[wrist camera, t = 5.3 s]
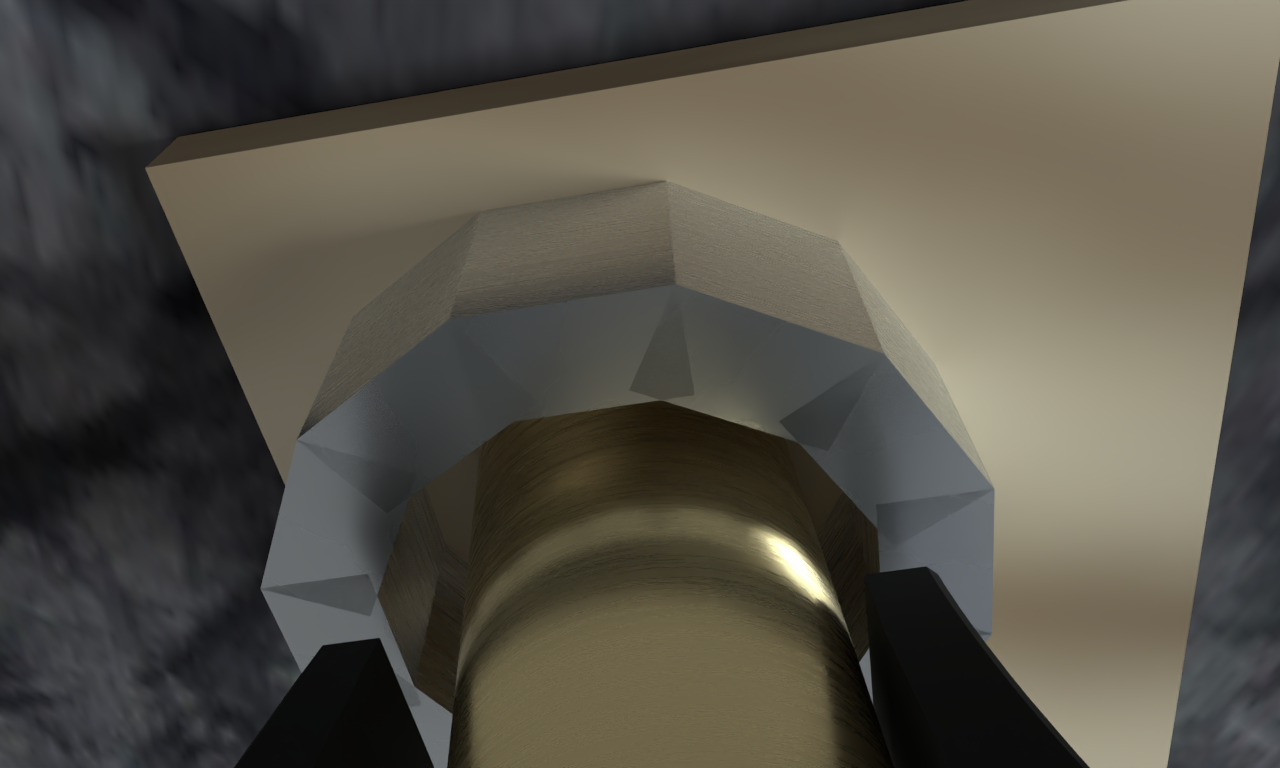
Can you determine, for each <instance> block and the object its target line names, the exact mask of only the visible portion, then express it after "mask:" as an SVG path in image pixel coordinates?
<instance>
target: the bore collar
mask: <svg viewBox="0 0 1280 768" xmlns="http://www.w3.org/2000/svg"><path fill="white" fill-rule="evenodd" d="M659 400H662V401H666V402H669V403H672V404H675V405H679V406H682V407H685V408H688V409H692V410H695V411H698V412H701V413H705V414H708V415H711V416H714V417H718V418H721V419H724V420H727V421H731V422H734V423H737V424H740V425H744V426H747V427H750V428H753V429H757V430H760V431H763V432H766V433H770V434H773V435H776V436H779V437H783V438H786V439H789V440H792V441H796V442H798V443H799V444H800V445H801V446H802V447H803V448H804V449H805V450H806V451H807V452H808V454H809V455H810V456H811V457H812V458H813V459H814V460H815V461H816V462H817V463H818V464H819V466H820V467H821V468H822V469H823V470H824V471H825V472H826V473H827V474H828V475H829V476H830V478H831V479H832V480H833V481H834V482H835V483H836V484H837V485H838V486H839V487H840V488H841V490H842V493H841V494H840V496H839V498H838V499H837V501H836V503H835V504H834V506H833V508H832V509H831V511H830V513H829V514H828V516H827V518H826V519H825V521H824V523H823V524H822V526H821V528H820V529H819V531H818V533H817V537H818V540H819V543H820V546H821V549H822V552H823V555H824V558H825V561H826V564H827V567H828V570H829V573H830V576H831V579H832V582H833V585H834V588H835V591H836V594H837V597H838V600H839V603H840V606H841V609H842V612H843V615H844V619H845V622H846V625H847V628H848V631H849V634H850V637H851V640H852V643H853V646H854V649H855V652H856V655H857V658H858V661H859V664H860V667H861V670H862V673H863V676H864V679H865V682H866V685H867V688H868V691H869V694H870V697H871V700H872V703H873V696H872V682H871V667H870V653H869V639H868V625H867V611H866V597H865V582H864V574H872V573H879V572H887V571H895V570H902V569H910V568H917V567H925V566H927V567H928V568H930V569H931V570H933V571H934V572H936V573H937V574H938V575H939V577H940V578H941V580H942V581H943V583H944V585H945V586H946V588H947V589H948V591H949V592H950V594H951V595H952V597H953V598H954V600H955V601H956V603H957V604H958V606H959V607H960V608H961V610H962V611H963V613H964V614H965V615H966V617H967V618H968V620H969V621H970V623H971V624H972V625H973V627H974V628H975V629H976V631H977V632H978V633H979V635H980V636H981V637H982V639H983V640H984V641H985V642H986V641H987V640H988V639H989V637H990V636H991V635H992V607H993V552H994V498H995V488H994V486H993V484H992V482H991V480H990V478H989V476H988V474H987V472H986V470H985V467H984V465H983V463H982V461H981V459H980V457H979V455H978V453H977V451H976V449H975V447H974V445H973V442H972V440H971V438H970V436H969V434H968V432H967V430H966V428H965V426H964V424H963V422H962V419H961V417H960V415H959V413H958V411H957V409H956V407H955V405H954V403H953V401H952V399H951V397H950V394H949V392H948V390H947V388H946V386H945V384H944V382H943V380H942V378H941V376H940V374H939V371H938V369H937V367H936V365H935V363H934V361H933V360H932V359H931V358H930V356H929V355H928V354H927V353H926V351H925V350H924V349H923V348H922V346H921V345H920V344H919V343H918V341H917V340H916V339H915V337H914V336H913V335H912V334H911V332H910V331H909V330H908V329H907V327H906V326H905V325H904V324H903V322H902V321H901V320H900V318H899V317H898V316H897V315H896V313H895V312H894V311H893V310H892V308H891V307H890V306H889V305H888V303H887V302H886V301H885V299H884V298H883V297H882V296H881V294H880V293H879V292H878V291H877V289H876V288H875V287H874V286H873V284H872V283H871V282H870V280H869V279H868V278H867V277H866V275H865V274H864V273H863V272H862V270H861V269H860V268H859V267H858V265H857V264H856V263H855V262H854V260H853V259H852V258H851V256H850V255H849V254H848V253H847V251H846V250H845V249H844V248H843V246H842V245H841V244H840V243H839V241H837V240H834V239H831V238H829V237H826V236H823V235H820V234H817V233H814V232H811V231H809V230H806V229H803V228H800V227H797V226H794V225H792V224H789V223H786V222H783V221H780V220H777V219H775V218H772V217H769V216H766V215H763V214H760V213H758V212H755V211H752V210H749V209H746V208H743V207H740V206H738V205H735V204H732V203H729V202H726V201H723V200H721V199H718V198H715V197H712V196H709V195H706V194H704V193H701V192H698V191H695V190H692V189H689V188H687V187H684V186H681V185H678V184H675V183H672V182H669V181H667V180H666V181H661V182H655V183H648V184H642V185H636V186H630V187H624V188H618V189H612V190H605V191H599V192H593V193H587V194H581V195H575V196H568V197H562V198H556V199H550V200H544V201H538V202H532V203H525V204H519V205H513V206H507V207H501V208H495V209H489V210H482V211H480V212H479V213H478V214H476V215H475V216H474V217H473V218H472V219H470V220H469V221H468V222H467V223H465V224H464V225H463V226H462V227H461V228H459V229H458V230H457V231H456V232H455V233H453V234H452V235H451V236H450V237H449V238H447V239H446V240H445V241H444V242H443V243H441V244H440V245H439V246H438V247H437V248H435V249H434V250H433V251H432V252H430V253H429V254H428V255H427V256H426V257H424V258H423V259H422V260H421V261H420V262H418V263H417V264H416V265H415V266H414V267H412V268H411V269H410V270H409V271H408V272H406V273H405V274H404V275H403V276H401V277H400V278H399V279H398V280H397V281H395V282H394V283H393V284H392V285H391V286H389V287H388V288H387V289H386V290H385V291H383V292H382V293H381V294H380V295H379V296H377V297H376V298H375V299H374V300H373V301H371V302H370V303H369V304H368V305H366V306H365V307H364V308H363V309H362V310H360V311H359V312H358V313H357V314H356V315H354V316H353V317H352V320H351V322H350V324H349V326H348V328H347V331H346V333H345V335H344V337H343V339H342V341H341V344H340V346H339V348H338V350H337V352H336V355H335V357H334V359H333V361H332V363H331V366H330V368H329V370H328V372H327V374H326V376H325V379H324V381H323V383H322V385H321V387H320V390H319V392H318V394H317V396H316V398H315V401H314V403H313V405H312V407H311V409H310V411H309V414H308V416H307V418H306V420H305V422H304V425H303V427H302V429H301V431H300V433H299V436H298V438H297V441H296V445H295V449H294V453H293V457H292V461H291V465H290V470H289V474H288V478H287V482H286V486H285V490H284V494H283V498H282V502H281V506H280V511H279V515H278V519H277V523H276V527H275V531H274V535H273V539H272V543H271V548H270V552H269V556H268V560H267V564H266V568H265V572H264V576H263V580H262V584H261V588H260V589H261V591H262V593H263V595H264V597H265V599H266V601H267V603H268V605H269V607H270V609H271V611H272V613H273V615H274V617H275V619H276V621H277V623H278V626H279V628H280V630H281V632H282V634H283V636H284V638H285V640H286V642H287V644H288V646H289V648H290V650H291V652H292V654H293V656H294V658H295V660H296V662H297V664H298V666H299V668H300V670H301V672H303V671H304V669H305V668H306V667H307V665H308V664H309V663H310V661H311V660H312V659H313V657H314V656H315V655H316V653H317V652H318V651H319V649H320V648H321V647H322V645H328V644H336V643H343V642H351V641H359V640H366V639H374V638H380V640H381V642H382V644H383V647H384V649H385V652H386V654H387V656H388V659H389V661H390V663H391V666H392V668H393V670H394V673H395V675H396V678H397V680H398V682H399V685H400V687H401V689H402V692H403V694H404V697H405V699H406V701H407V704H408V706H409V708H410V711H411V713H412V715H413V718H414V720H415V723H416V725H417V727H418V730H419V732H420V734H421V737H422V739H423V742H424V744H425V746H426V749H427V751H428V753H429V756H430V758H431V761H432V763H433V765H434V768H447V763H448V754H449V744H450V735H451V725H452V715H453V706H454V696H455V687H456V677H457V667H458V658H459V648H460V639H461V629H462V619H463V610H464V600H465V591H466V581H467V571H468V561H467V560H466V559H465V558H463V557H462V556H461V555H460V554H459V553H457V552H456V551H455V550H454V549H452V548H451V547H450V546H449V545H448V544H446V542H445V539H444V537H443V534H442V531H441V528H440V525H439V522H438V519H437V517H436V514H435V511H434V508H433V505H432V502H431V499H430V497H429V494H428V491H427V488H426V485H427V484H428V483H430V482H431V481H432V480H434V479H435V478H436V477H438V476H439V475H441V474H442V473H443V472H445V471H446V470H447V469H449V468H450V467H452V466H453V465H454V464H456V463H457V462H459V461H460V460H461V459H463V458H464V457H465V456H467V455H468V454H470V453H471V452H472V451H474V450H475V449H476V448H478V447H479V446H481V445H482V444H483V443H485V442H486V441H488V440H489V439H490V438H492V437H493V436H494V435H496V434H497V433H499V432H500V431H501V430H503V429H504V428H505V427H507V426H508V425H510V424H511V423H512V422H515V421H522V420H528V419H535V418H542V417H549V416H556V415H563V414H569V413H576V412H583V411H590V410H597V409H604V408H611V407H617V406H624V405H631V404H638V403H645V402H652V401H659Z"/></svg>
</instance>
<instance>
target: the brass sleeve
mask: <svg viewBox="0 0 1280 768" xmlns="http://www.w3.org/2000/svg"><path fill="white" fill-rule="evenodd" d="M447 768H894V767H893V764H892V760H891V757H890V754H889V751H888V748H887V745H886V742H885V739H884V736H883V733H882V730H881V727H880V724H879V721H878V718H877V715H876V712H875V709H874V706H873V703H872V700H871V697H870V694H869V691H868V688H867V685H866V682H865V679H864V676H863V673H862V670H861V667H860V664H859V661H858V658H857V655H856V652H855V649H854V646H853V643H852V640H851V637H850V634H849V631H848V628H847V625H846V622H845V619H844V615H843V612H842V609H841V606H840V603H839V600H838V597H837V594H836V591H835V588H834V585H833V582H832V579H831V576H830V573H829V570H828V567H827V564H826V561H825V558H824V555H823V552H822V549H821V546H820V543H819V540H818V537H817V534H816V531H815V528H814V525H813V522H812V519H811V516H810V513H809V510H808V507H807V504H806V501H805V498H804V495H803V492H802V489H801V486H800V483H799V480H798V477H797V474H796V470H795V467H794V464H793V461H792V458H791V455H790V452H789V449H788V446H787V443H786V440H785V438H783V437H779V436H776V435H773V434H770V433H766V432H763V431H760V430H757V429H753V428H750V427H747V426H744V425H740V424H737V423H734V422H731V421H727V420H724V419H721V418H718V417H714V416H711V415H708V414H705V413H701V412H698V411H695V410H692V409H688V408H685V407H682V406H679V405H675V404H672V403H669V402H666V401H662V400H659V401H652V402H645V403H638V404H631V405H624V406H617V407H611V408H604V409H597V410H590V411H583V412H576V413H569V414H563V415H556V416H549V417H542V418H535V419H528V420H522V421H515V422H512V423H511V424H510V425H508V426H507V427H505V428H504V429H503V430H501V431H500V432H499V433H497V434H496V435H494V436H493V437H492V438H490V439H489V440H488V441H486V442H485V443H483V446H482V450H481V454H480V458H479V466H478V475H477V485H476V495H475V504H474V514H473V523H472V533H471V543H470V552H469V562H468V571H467V581H466V591H465V600H464V610H463V619H462V629H461V639H460V648H459V658H458V667H457V677H456V687H455V696H454V706H453V715H452V725H451V735H450V744H449V754H448V763H447Z"/></svg>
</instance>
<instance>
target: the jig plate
mask: <svg viewBox="0 0 1280 768" xmlns="http://www.w3.org/2000/svg"><path fill="white" fill-rule="evenodd" d="M1279 58H1280V0H968V1H963V2H957V3H951V4H945V5H939V6H934V7H928V8H922V9H916V10H910V11H905V12H899V13H893V14H887V15H881V16H876V17H870V18H864V19H858V20H852V21H847V22H841V23H835V24H829V25H823V26H818V27H812V28H806V29H800V30H795V31H789V32H783V33H777V34H771V35H766V36H760V37H754V38H748V39H742V40H737V41H731V42H725V43H719V44H713V45H708V46H702V47H696V48H690V49H684V50H679V51H673V52H667V53H661V54H655V55H650V56H644V57H638V58H632V59H626V60H621V61H615V62H609V63H603V64H597V65H592V66H586V67H580V68H574V69H568V70H563V71H557V72H551V73H545V74H539V75H534V76H528V77H522V78H516V79H510V80H505V81H499V82H493V83H487V84H481V85H476V86H470V87H464V88H458V89H452V90H447V91H441V92H435V93H429V94H423V95H418V96H412V97H406V98H400V99H394V100H389V101H383V102H377V103H371V104H365V105H360V106H354V107H348V108H342V109H336V110H331V111H325V112H319V113H313V114H307V115H302V116H296V117H290V118H284V119H278V120H273V121H267V122H261V123H255V124H249V125H244V126H238V127H232V128H226V129H221V130H215V131H209V132H203V133H197V134H192V135H186V136H180V137H177V138H176V139H175V140H174V141H173V142H172V143H171V144H170V145H169V146H168V147H167V148H166V149H165V150H164V151H162V152H161V153H160V154H159V155H158V156H157V157H156V158H155V159H154V160H153V161H152V162H151V163H150V164H149V165H147V166H146V167H145V169H146V172H147V174H148V176H149V178H150V181H151V183H152V185H153V187H154V190H155V192H156V194H157V196H158V199H159V201H160V203H161V206H162V208H163V210H164V212H165V215H166V217H167V219H168V221H169V224H170V226H171V228H172V230H173V233H174V235H175V237H176V240H177V242H178V244H179V246H180V249H181V251H182V253H183V255H184V258H185V260H186V262H187V264H188V267H189V269H190V271H191V273H192V276H193V278H194V280H195V283H196V285H197V287H198V289H199V292H200V294H201V296H202V298H203V301H204V303H205V305H206V307H207V310H208V312H209V314H210V317H211V319H212V321H213V323H214V326H215V328H216V330H217V332H218V335H219V337H220V339H221V341H222V344H223V346H224V348H225V350H226V353H227V355H228V357H229V360H230V362H231V364H232V366H233V369H234V371H235V373H236V375H237V378H238V380H239V382H240V384H241V387H242V389H243V391H244V393H245V396H246V398H247V400H248V403H249V405H250V407H251V409H252V412H253V414H254V416H255V418H256V421H257V423H258V425H259V427H260V430H261V432H262V434H263V437H264V439H265V441H266V443H267V446H268V448H269V450H270V452H271V455H272V457H273V459H274V461H275V464H276V466H277V468H278V470H279V473H280V475H281V477H282V480H283V482H284V484H285V486H286V482H287V478H288V474H289V470H290V465H291V461H292V457H293V453H294V449H295V445H296V441H297V438H298V436H299V433H300V431H301V429H302V427H303V425H304V422H305V420H306V418H307V416H308V414H309V411H310V409H311V407H312V405H313V403H314V401H315V398H316V396H317V394H318V392H319V390H320V387H321V385H322V383H323V381H324V379H325V376H326V374H327V372H328V370H329V368H330V366H331V363H332V361H333V359H334V357H335V355H336V352H337V350H338V348H339V346H340V344H341V341H342V339H343V337H344V335H345V333H346V331H347V328H348V326H349V324H350V322H351V320H352V317H353V316H354V315H356V314H357V313H358V312H359V311H360V310H362V309H363V308H364V307H365V306H366V305H368V304H369V303H370V302H371V301H373V300H374V299H375V298H376V297H377V296H379V295H380V294H381V293H382V292H383V291H385V290H386V289H387V288H388V287H389V286H391V285H392V284H393V283H394V282H395V281H397V280H398V279H399V278H400V277H401V276H403V275H404V274H405V273H406V272H408V271H409V270H410V269H411V268H412V267H414V266H415V265H416V264H417V263H418V262H420V261H421V260H422V259H423V258H424V257H426V256H427V255H428V254H429V253H430V252H432V251H433V250H434V249H435V248H437V247H438V246H439V245H440V244H441V243H443V242H444V241H445V240H446V239H447V238H449V237H450V236H451V235H452V234H453V233H455V232H456V231H457V230H458V229H459V228H461V227H462V226H463V225H464V224H465V223H467V222H468V221H469V220H470V219H472V218H473V217H474V216H475V215H476V214H478V213H479V212H480V211H482V210H489V209H495V208H501V207H507V206H513V205H519V204H525V203H532V202H538V201H544V200H550V199H556V198H562V197H568V196H575V195H581V194H587V193H593V192H599V191H605V190H612V189H618V188H624V187H630V186H636V185H642V184H648V183H655V182H661V181H666V180H667V181H669V182H672V183H675V184H678V185H681V186H684V187H687V188H689V189H692V190H695V191H698V192H701V193H704V194H706V195H709V196H712V197H715V198H718V199H721V200H723V201H726V202H729V203H732V204H735V205H738V206H740V207H743V208H746V209H749V210H752V211H755V212H758V213H760V214H763V215H766V216H769V217H772V218H775V219H777V220H780V221H783V222H786V223H789V224H792V225H794V226H797V227H800V228H803V229H806V230H809V231H811V232H814V233H817V234H820V235H823V236H826V237H829V238H831V239H834V240H837V241H839V243H840V244H841V245H842V246H843V248H844V249H845V250H846V251H847V253H848V254H849V255H850V256H851V258H852V259H853V260H854V262H855V263H856V264H857V265H858V267H859V268H860V269H861V270H862V272H863V273H864V274H865V275H866V277H867V278H868V279H869V280H870V282H871V283H872V284H873V286H874V287H875V288H876V289H877V291H878V292H879V293H880V294H881V296H882V297H883V298H884V299H885V301H886V302H887V303H888V305H889V306H890V307H891V308H892V310H893V311H894V312H895V313H896V315H897V316H898V317H899V318H900V320H901V321H902V322H903V324H904V325H905V326H906V327H907V329H908V330H909V331H910V332H911V334H912V335H913V336H914V337H915V339H916V340H917V341H918V343H919V344H920V345H921V346H922V348H923V349H924V350H925V351H926V353H927V354H928V355H929V356H930V358H931V359H932V360H933V361H934V363H935V365H936V367H937V369H938V371H939V374H940V376H941V378H942V380H943V382H944V384H945V386H946V388H947V390H948V392H949V394H950V397H951V399H952V401H953V403H954V405H955V407H956V409H957V411H958V413H959V415H960V417H961V419H962V422H963V424H964V426H965V428H966V430H967V432H968V434H969V436H970V438H971V440H972V442H973V445H974V447H975V449H976V451H977V453H978V455H979V457H980V459H981V461H982V463H983V465H984V467H985V470H986V472H987V474H988V476H989V478H990V480H991V482H992V484H993V486H994V488H995V498H994V552H993V607H992V635H991V636H990V637H989V639H988V640H987V641H986V642H985V643H986V644H987V645H988V647H989V648H990V649H991V650H992V652H993V653H994V654H995V656H996V657H997V658H998V660H999V661H1000V662H1001V663H1002V665H1003V666H1004V667H1005V669H1006V670H1007V671H1008V672H1009V674H1010V675H1011V676H1012V677H1013V679H1014V680H1015V681H1016V682H1017V684H1018V685H1019V686H1020V687H1021V688H1022V690H1023V691H1024V692H1025V693H1026V695H1027V696H1028V697H1029V698H1030V699H1031V701H1032V702H1033V703H1034V704H1035V705H1036V706H1037V708H1038V709H1039V710H1040V711H1041V712H1042V713H1043V714H1044V716H1045V717H1046V718H1047V719H1048V720H1049V721H1050V723H1051V724H1052V725H1053V726H1054V727H1055V728H1056V730H1057V731H1058V732H1059V733H1060V734H1061V735H1062V737H1063V738H1064V739H1065V740H1066V741H1067V742H1068V744H1069V745H1070V746H1071V747H1072V748H1073V749H1074V751H1075V752H1076V753H1077V754H1078V755H1079V756H1080V757H1081V758H1082V759H1083V760H1084V762H1085V763H1086V764H1087V765H1088V766H1089V767H1090V768H1167V763H1168V757H1169V751H1170V744H1171V738H1172V732H1173V726H1174V719H1175V713H1176V707H1177V700H1178V694H1179V688H1180V681H1181V675H1182V669H1183V663H1184V656H1185V650H1186V644H1187V637H1188V631H1189V625H1190V619H1191V612H1192V606H1193V600H1194V593H1195V587H1196V581H1197V574H1198V568H1199V562H1200V556H1201V549H1202V543H1203V537H1204V530H1205V524H1206V518H1207V512H1208V505H1209V499H1210V493H1211V486H1212V480H1213V474H1214V467H1215V461H1216V455H1217V449H1218V442H1219V436H1220V430H1221V423H1222V417H1223V411H1224V405H1225V398H1226V392H1227V386H1228V379H1229V373H1230V367H1231V361H1232V354H1233V348H1234V342H1235V335H1236V329H1237V323H1238V316H1239V310H1240V304H1241V298H1242V291H1243V285H1244V279H1245V272H1246V266H1247V260H1248V254H1249V247H1250V241H1251V235H1252V228H1253V222H1254V216H1255V209H1256V203H1257V197H1258V191H1259V184H1260V178H1261V172H1262V165H1263V159H1264V153H1265V147H1266V140H1267V134H1268V128H1269V121H1270V115H1271V109H1272V102H1273V96H1274V90H1275V84H1276V77H1277V71H1278V65H1279ZM785 440H786V443H787V446H788V449H789V452H790V455H791V458H792V461H793V464H794V467H795V470H796V474H797V477H798V480H799V483H800V486H801V489H802V492H803V495H804V498H805V501H806V504H807V507H808V510H809V513H810V516H811V519H812V522H813V525H814V528H815V531H816V534H817V533H818V531H819V529H820V528H821V526H822V524H823V523H824V521H825V519H826V518H827V516H828V514H829V513H830V511H831V509H832V508H833V506H834V504H835V503H836V501H837V499H838V498H839V496H840V494H841V493H842V490H841V488H840V487H839V486H838V485H837V484H836V483H835V482H834V481H833V480H832V479H831V478H830V476H829V475H828V474H827V473H826V472H825V471H824V470H823V469H822V468H821V467H820V466H819V464H818V463H817V462H816V461H815V460H814V459H813V458H812V457H811V456H810V455H809V454H808V452H807V451H806V450H805V449H804V448H803V447H802V446H801V445H800V444H799V443H798V442H796V441H792V440H789V439H786V438H785ZM482 446H483V444H482V445H481V446H479V447H478V448H476V449H475V450H474V451H472V452H471V453H470V454H468V455H467V456H465V457H464V458H463V459H461V460H460V461H459V462H457V463H456V464H454V465H453V466H452V467H450V468H449V469H447V470H446V471H445V472H443V473H442V474H441V475H439V476H438V477H436V478H435V479H434V480H432V481H431V482H430V483H428V484H427V485H426V488H427V491H428V494H429V497H430V499H431V502H432V505H433V508H434V511H435V514H436V517H437V519H438V522H439V525H440V528H441V531H442V534H443V537H444V539H445V542H446V544H448V545H449V546H450V547H451V548H452V549H454V550H455V551H456V552H457V553H459V554H460V555H461V556H462V557H463V558H465V559H466V560H467V561H468V562H469V552H470V543H471V533H472V523H473V514H474V504H475V495H476V485H477V475H478V466H479V458H480V454H481V450H482Z"/></svg>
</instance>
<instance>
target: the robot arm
mask: <svg viewBox="0 0 1280 768" xmlns="http://www.w3.org/2000/svg"><path fill="white" fill-rule="evenodd" d="M864 582H865V597H866V611H867V625H868V639H869V653H870V667H871V682H872V696H873V706H874V709H875V712H876V715H877V718H878V721H879V724H880V727H881V730H882V733H883V736H884V739H885V742H886V745H887V748H888V751H889V754H890V757H891V760H892V764H893V767H894V768H1090V767H1089V766H1088V765H1087V764H1086V763H1085V762H1084V760H1083V759H1082V758H1081V757H1080V756H1079V755H1078V754H1077V753H1076V752H1075V751H1074V749H1073V748H1072V747H1071V746H1070V745H1069V744H1068V742H1067V741H1066V740H1065V739H1064V738H1063V737H1062V735H1061V734H1060V733H1059V732H1058V731H1057V730H1056V728H1055V727H1054V726H1053V725H1052V724H1051V723H1050V721H1049V720H1048V719H1047V718H1046V717H1045V716H1044V714H1043V713H1042V712H1041V711H1040V710H1039V709H1038V708H1037V706H1036V705H1035V704H1034V703H1033V702H1032V701H1031V699H1030V698H1029V697H1028V696H1027V695H1026V693H1025V692H1024V691H1023V690H1022V688H1021V687H1020V686H1019V685H1018V684H1017V682H1016V681H1015V680H1014V679H1013V677H1012V676H1011V675H1010V674H1009V672H1008V671H1007V670H1006V669H1005V667H1004V666H1003V665H1002V663H1001V662H1000V661H999V660H998V658H997V657H996V656H995V654H994V653H993V652H992V650H991V649H990V648H989V647H988V645H987V644H986V643H985V641H984V640H983V639H982V637H981V636H980V635H979V633H978V632H977V631H976V629H975V628H974V627H973V625H972V624H971V623H970V621H969V620H968V618H967V617H966V615H965V614H964V613H963V611H962V610H961V608H960V607H959V606H958V604H957V603H956V601H955V600H954V598H953V597H952V595H951V594H950V592H949V591H948V589H947V588H946V586H945V585H944V583H943V581H942V580H941V578H940V577H939V575H938V574H937V573H936V572H934V571H933V570H931V569H930V568H928V567H927V566H925V567H917V568H910V569H902V570H895V571H887V572H879V573H872V574H864ZM234 768H434V765H433V763H432V761H431V758H430V756H429V753H428V751H427V749H426V746H425V744H424V742H423V739H422V737H421V734H420V732H419V730H418V727H417V725H416V723H415V720H414V718H413V715H412V713H411V711H410V708H409V706H408V704H407V701H406V699H405V697H404V694H403V692H402V689H401V687H400V685H399V682H398V680H397V678H396V675H395V673H394V670H393V668H392V666H391V663H390V661H389V659H388V656H387V654H386V652H385V649H384V647H383V644H382V642H381V640H380V638H374V639H366V640H359V641H351V642H343V643H336V644H328V645H322V647H321V648H320V649H319V651H318V652H317V653H316V655H315V656H314V657H313V659H312V660H311V661H310V663H309V664H308V665H307V667H306V668H305V669H304V671H303V672H302V673H301V675H300V676H299V678H298V679H297V680H296V682H295V683H294V685H293V686H292V687H291V689H290V690H289V692H288V693H287V694H286V696H285V697H284V698H283V700H282V701H281V703H280V704H279V706H278V707H277V708H276V710H275V711H274V713H273V714H272V715H271V717H270V718H269V720H268V721H267V722H266V724H265V725H264V727H263V728H262V729H261V731H260V732H259V734H258V735H257V736H256V738H255V739H254V740H253V742H252V743H251V745H250V746H249V747H248V749H247V750H246V752H245V753H244V754H243V756H242V757H241V758H240V760H239V761H238V763H237V764H236V765H235V767H234Z"/></svg>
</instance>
